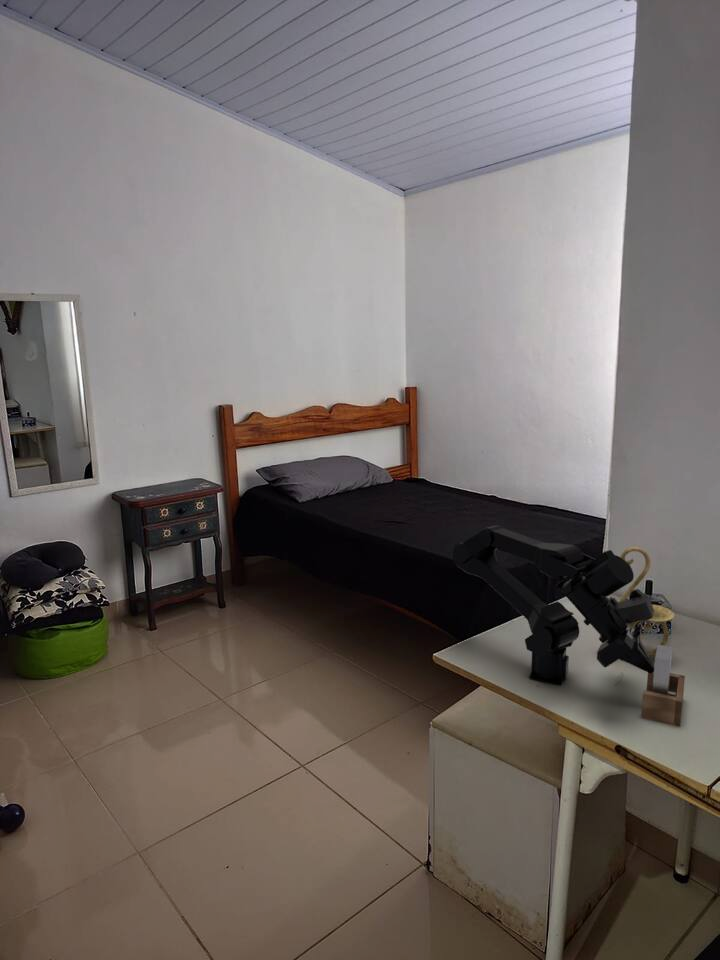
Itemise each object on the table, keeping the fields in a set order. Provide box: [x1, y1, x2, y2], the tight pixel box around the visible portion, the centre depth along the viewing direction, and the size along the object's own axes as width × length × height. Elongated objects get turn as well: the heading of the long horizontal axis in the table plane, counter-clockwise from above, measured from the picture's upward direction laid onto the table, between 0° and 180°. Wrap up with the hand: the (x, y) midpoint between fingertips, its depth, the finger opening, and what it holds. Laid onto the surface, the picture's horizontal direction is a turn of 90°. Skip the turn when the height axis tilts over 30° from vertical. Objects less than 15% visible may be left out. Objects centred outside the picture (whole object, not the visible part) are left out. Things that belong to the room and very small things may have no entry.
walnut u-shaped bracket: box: [640, 672, 686, 728], centre depth 118 cm, size 6×10×5 cm, turn 151°
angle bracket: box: [652, 644, 676, 697], centre depth 118 cm, size 5×6×11 cm
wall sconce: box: [604, 546, 675, 658], centre depth 137 cm, size 14×10×25 cm
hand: (653, 671), depth 118 cm, fingers closed, pressing on angle bracket
